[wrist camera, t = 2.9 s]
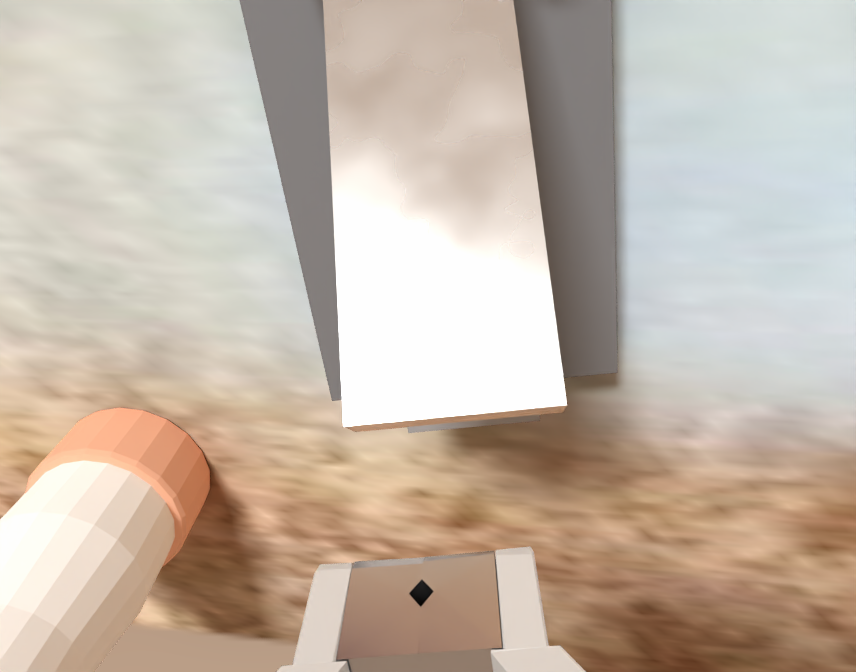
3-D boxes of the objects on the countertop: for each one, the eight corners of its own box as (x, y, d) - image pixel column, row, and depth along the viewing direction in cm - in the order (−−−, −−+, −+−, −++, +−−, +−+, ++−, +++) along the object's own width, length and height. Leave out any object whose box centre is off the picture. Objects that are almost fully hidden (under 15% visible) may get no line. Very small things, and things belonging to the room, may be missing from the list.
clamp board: (594, -222, 21) (631, -285, 16) (607, 350, 29) (635, 411, 25) (221, -154, 22) (161, -197, 17) (339, 377, 30) (319, 441, 26)
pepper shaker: (196, 406, 31) (-119, 886, 14) (222, 527, 35) (-10, 1039, 17) (45, 407, 32) (-440, 877, 15) (85, 526, 35) (-277, 1028, 18)
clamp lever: (489, -140, 20) (488, -200, 19) (561, 414, 16) (568, 403, 14) (328, -113, 21) (312, -169, 19) (358, 433, 17) (340, 424, 15)
